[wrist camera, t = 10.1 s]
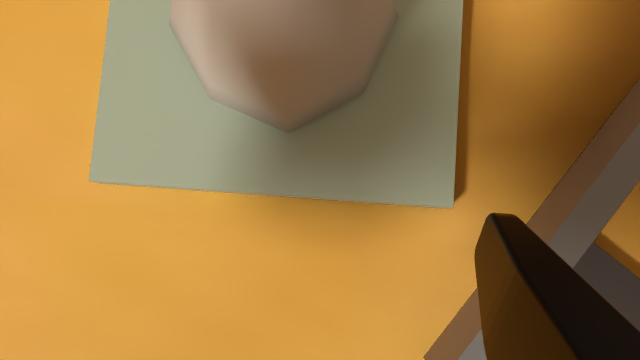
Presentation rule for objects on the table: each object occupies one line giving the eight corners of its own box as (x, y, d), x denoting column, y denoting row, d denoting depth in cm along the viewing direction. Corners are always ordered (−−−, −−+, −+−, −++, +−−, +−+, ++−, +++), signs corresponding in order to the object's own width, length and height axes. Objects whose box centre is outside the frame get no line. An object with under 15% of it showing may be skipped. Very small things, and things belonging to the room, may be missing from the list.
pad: (447, 208, 17) (453, 207, 16) (99, 183, 17) (88, 181, 16) (463, -119, 18) (469, -135, 17) (137, -141, 18) (128, -158, 17)
